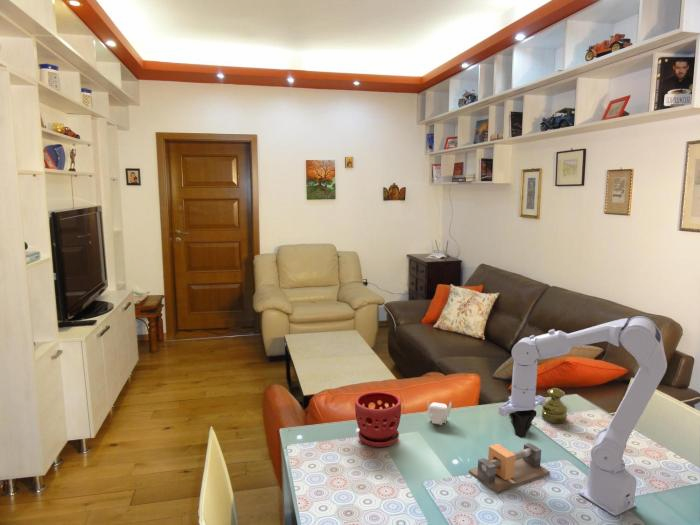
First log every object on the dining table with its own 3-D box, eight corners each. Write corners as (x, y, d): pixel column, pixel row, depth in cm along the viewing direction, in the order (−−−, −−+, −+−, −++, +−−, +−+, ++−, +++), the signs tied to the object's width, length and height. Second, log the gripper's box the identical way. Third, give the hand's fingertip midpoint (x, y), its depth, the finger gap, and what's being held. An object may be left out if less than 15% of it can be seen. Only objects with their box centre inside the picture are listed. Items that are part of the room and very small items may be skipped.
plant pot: (400, 429, 150) (401, 391, 148) (400, 452, 137) (401, 411, 135) (356, 426, 151) (357, 388, 149) (352, 449, 139) (353, 408, 137)
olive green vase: (536, 415, 161) (538, 385, 159) (555, 412, 163) (558, 383, 161) (551, 426, 154) (554, 395, 152) (572, 422, 156) (574, 392, 154)
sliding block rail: (549, 473, 128) (551, 455, 128) (497, 493, 120) (498, 474, 119) (519, 454, 137) (520, 437, 136) (468, 472, 129) (469, 454, 128)
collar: (513, 476, 125) (515, 454, 124) (505, 480, 124) (506, 457, 123) (496, 464, 130) (497, 443, 129) (487, 467, 129) (488, 446, 128)
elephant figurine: (423, 427, 151) (424, 405, 150) (427, 413, 161) (428, 392, 159) (448, 431, 149) (450, 409, 148) (452, 417, 158) (453, 395, 157)
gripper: (531, 375, 133) (527, 423, 135) (490, 385, 126) (487, 435, 128) (553, 384, 127) (549, 434, 129) (512, 395, 120) (508, 448, 122)
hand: (520, 436), depth 128 cm, fingers closed
